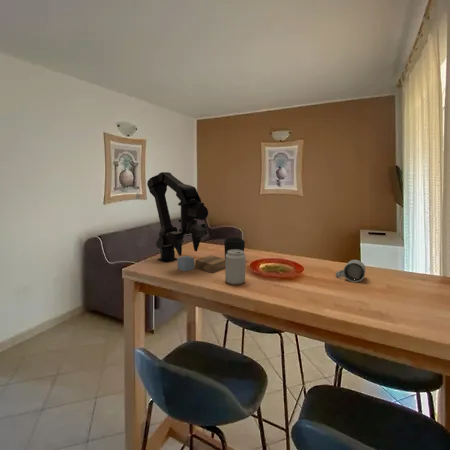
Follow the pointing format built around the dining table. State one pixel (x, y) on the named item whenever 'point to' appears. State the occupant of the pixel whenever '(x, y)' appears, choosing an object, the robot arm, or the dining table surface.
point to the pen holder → (233, 244)
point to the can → (235, 267)
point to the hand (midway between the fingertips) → (188, 253)
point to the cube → (185, 263)
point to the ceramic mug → (353, 271)
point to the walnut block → (210, 264)
